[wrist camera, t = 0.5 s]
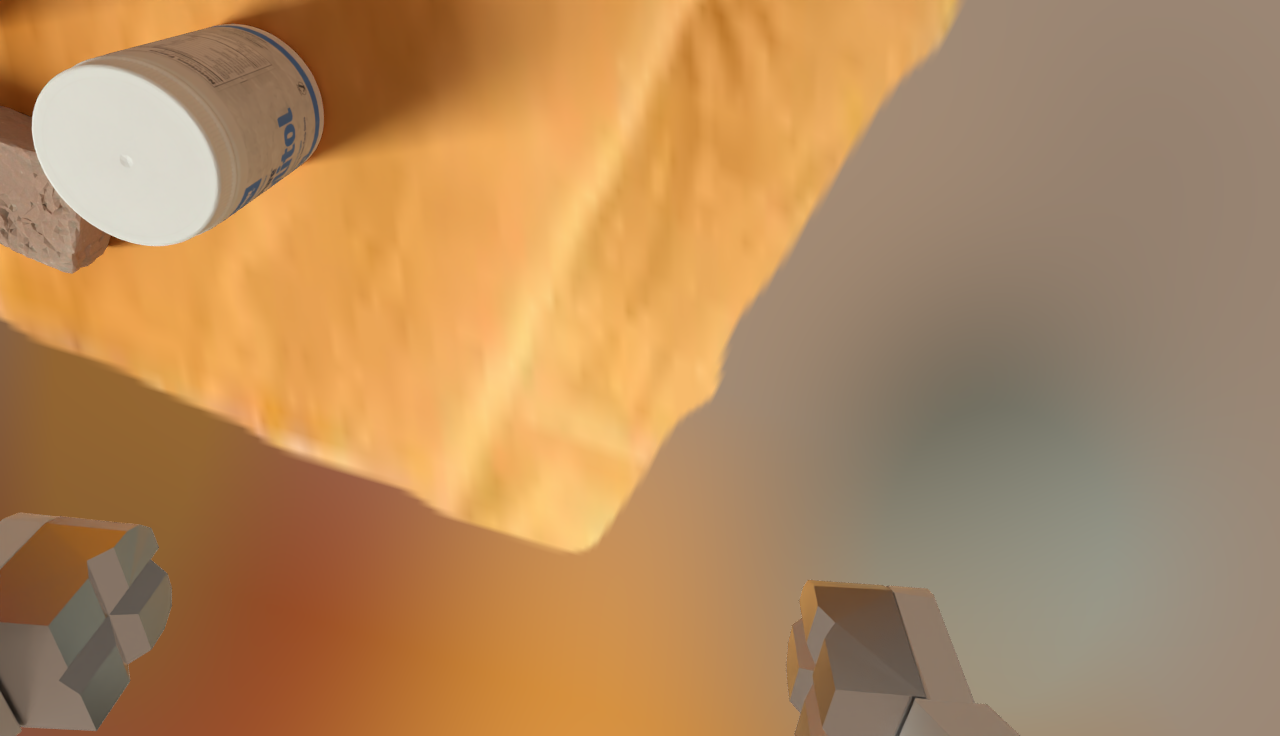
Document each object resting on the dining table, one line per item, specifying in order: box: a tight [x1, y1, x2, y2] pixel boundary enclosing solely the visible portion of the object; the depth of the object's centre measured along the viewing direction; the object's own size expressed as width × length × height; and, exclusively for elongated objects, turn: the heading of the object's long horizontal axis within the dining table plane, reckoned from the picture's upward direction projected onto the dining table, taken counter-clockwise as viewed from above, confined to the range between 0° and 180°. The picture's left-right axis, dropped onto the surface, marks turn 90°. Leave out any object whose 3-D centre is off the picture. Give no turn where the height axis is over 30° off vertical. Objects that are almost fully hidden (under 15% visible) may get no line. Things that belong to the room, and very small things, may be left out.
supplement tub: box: [32, 24, 324, 246], centre depth 46 cm, size 10×10×15 cm
